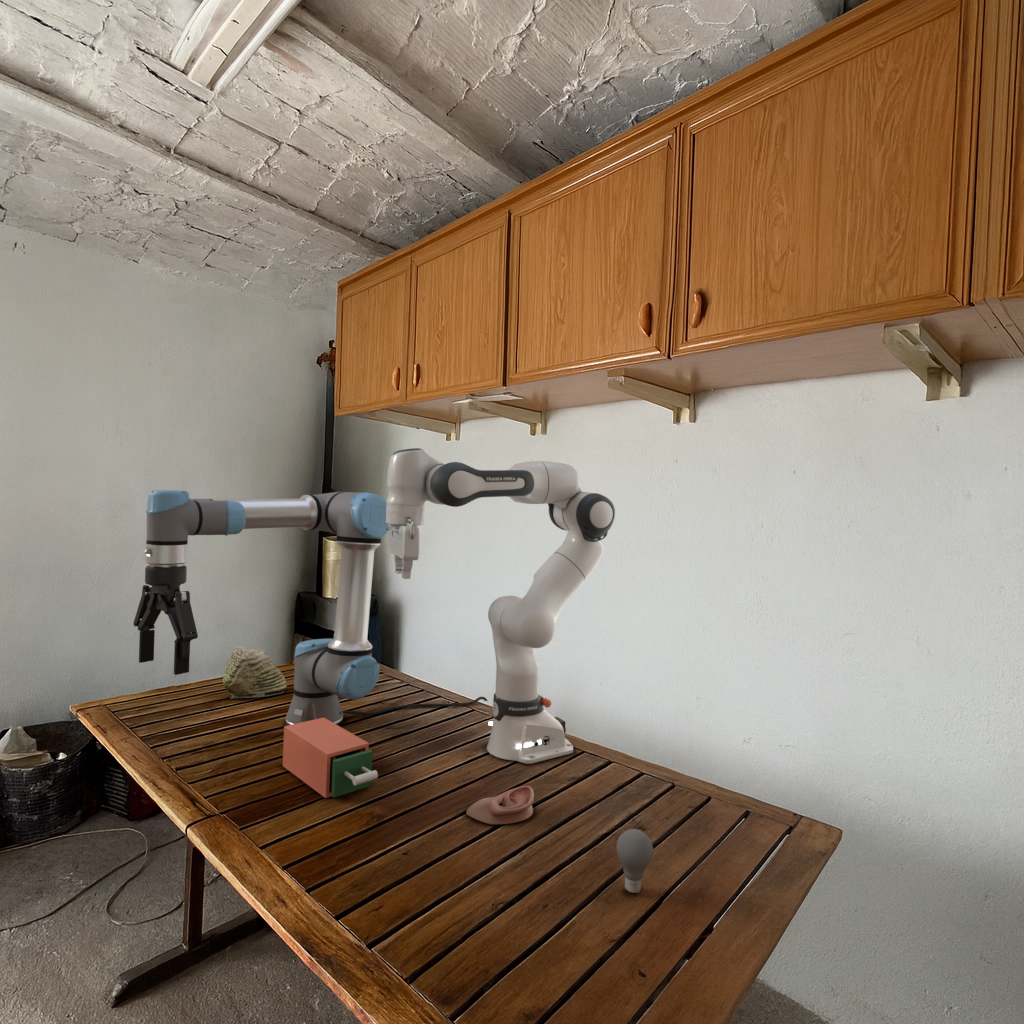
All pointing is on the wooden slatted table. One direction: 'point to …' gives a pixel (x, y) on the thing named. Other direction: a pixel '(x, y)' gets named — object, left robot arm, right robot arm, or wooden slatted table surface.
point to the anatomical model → (504, 807)
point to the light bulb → (634, 857)
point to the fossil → (252, 674)
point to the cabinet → (316, 751)
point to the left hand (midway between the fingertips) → (163, 667)
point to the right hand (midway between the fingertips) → (402, 575)
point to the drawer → (351, 772)
